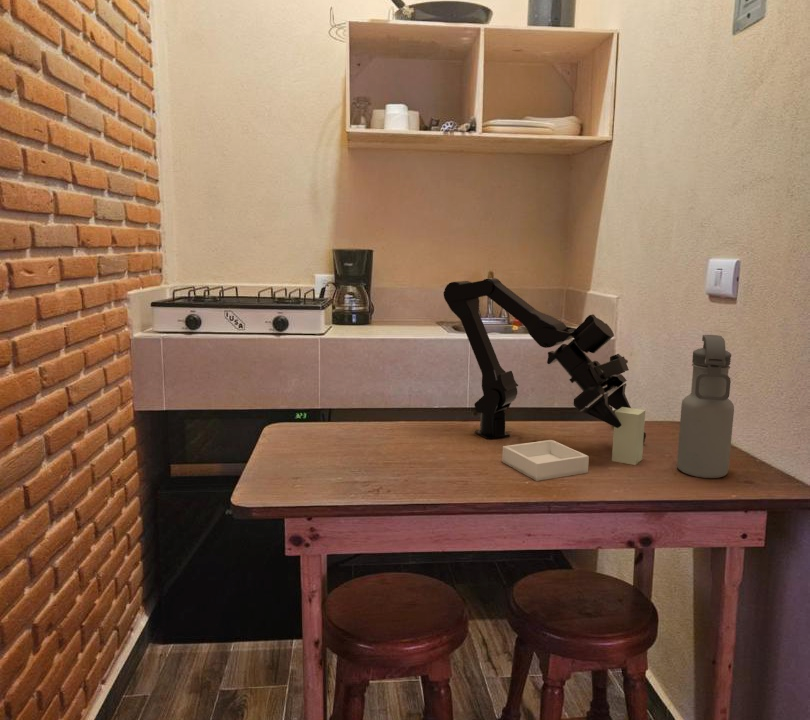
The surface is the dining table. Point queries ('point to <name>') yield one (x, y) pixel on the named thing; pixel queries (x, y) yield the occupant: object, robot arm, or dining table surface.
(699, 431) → the water bottle
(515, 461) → the box
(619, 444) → the pale green tall block
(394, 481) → the dining table surface
